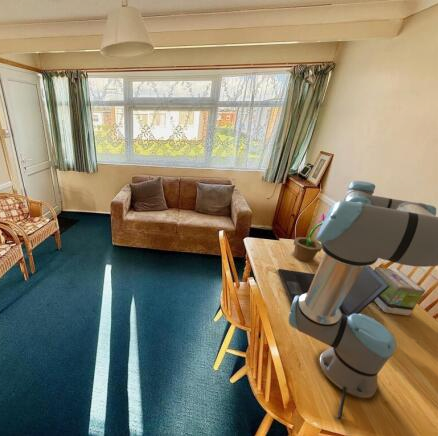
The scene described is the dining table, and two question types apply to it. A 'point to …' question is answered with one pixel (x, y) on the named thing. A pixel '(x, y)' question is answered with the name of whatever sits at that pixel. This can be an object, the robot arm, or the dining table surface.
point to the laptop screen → (363, 291)
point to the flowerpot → (307, 245)
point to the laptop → (297, 284)
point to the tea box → (398, 292)
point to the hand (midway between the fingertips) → (329, 264)
